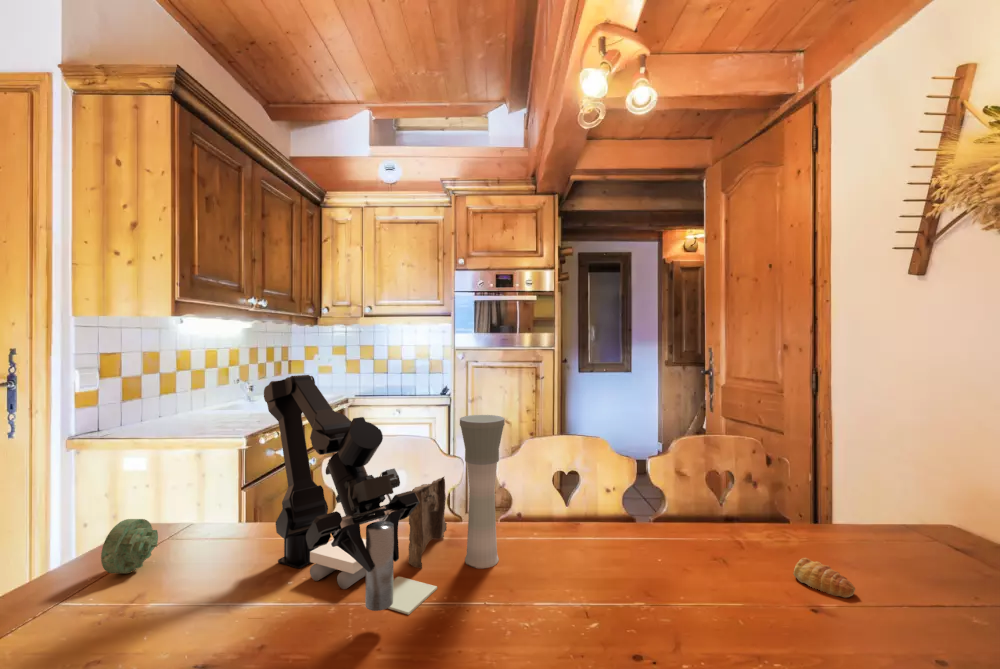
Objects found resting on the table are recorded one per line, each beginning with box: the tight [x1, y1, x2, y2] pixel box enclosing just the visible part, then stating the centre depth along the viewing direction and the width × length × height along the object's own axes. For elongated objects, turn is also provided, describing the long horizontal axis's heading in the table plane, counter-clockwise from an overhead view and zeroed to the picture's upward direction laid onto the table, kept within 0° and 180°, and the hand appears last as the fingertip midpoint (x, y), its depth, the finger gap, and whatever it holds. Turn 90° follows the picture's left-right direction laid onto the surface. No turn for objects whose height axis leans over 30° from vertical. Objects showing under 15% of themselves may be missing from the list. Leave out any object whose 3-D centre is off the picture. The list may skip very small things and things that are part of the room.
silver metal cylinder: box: [364, 520, 394, 612], centre depth 75 cm, size 4×4×12 cm
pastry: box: [793, 557, 856, 599], centre depth 88 cm, size 9×7×4 cm
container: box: [459, 414, 505, 569], centre depth 98 cm, size 10×10×30 cm
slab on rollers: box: [309, 538, 366, 590], centre depth 92 cm, size 11×10×5 cm
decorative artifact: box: [100, 518, 159, 574], centre depth 93 cm, size 10×7×10 cm
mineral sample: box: [407, 476, 448, 569], centre depth 102 cm, size 17×4×15 cm, turn 168°
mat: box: [387, 575, 438, 616], centre depth 84 cm, size 9×9×1 cm
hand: (384, 565), depth 74 cm, fingers closed on silver metal cylinder, 4 cm apart
